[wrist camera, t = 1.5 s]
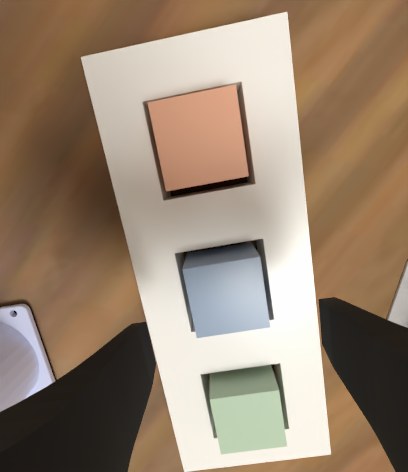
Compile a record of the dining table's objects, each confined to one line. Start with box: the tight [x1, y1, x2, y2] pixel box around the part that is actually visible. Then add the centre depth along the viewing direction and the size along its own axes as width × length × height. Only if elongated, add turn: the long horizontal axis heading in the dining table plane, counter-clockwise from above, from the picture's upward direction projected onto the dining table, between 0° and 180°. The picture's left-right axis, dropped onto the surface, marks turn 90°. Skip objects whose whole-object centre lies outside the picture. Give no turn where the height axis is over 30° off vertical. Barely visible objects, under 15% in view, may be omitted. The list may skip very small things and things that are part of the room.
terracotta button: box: [147, 84, 249, 191], centre depth 14 cm, size 4×4×3 cm
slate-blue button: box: [182, 242, 270, 338], centre depth 16 cm, size 4×4×3 cm
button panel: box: [81, 12, 331, 472], centre depth 17 cm, size 10×26×3 cm, turn 10°
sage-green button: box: [210, 365, 287, 454], centre depth 17 cm, size 4×4×3 cm
